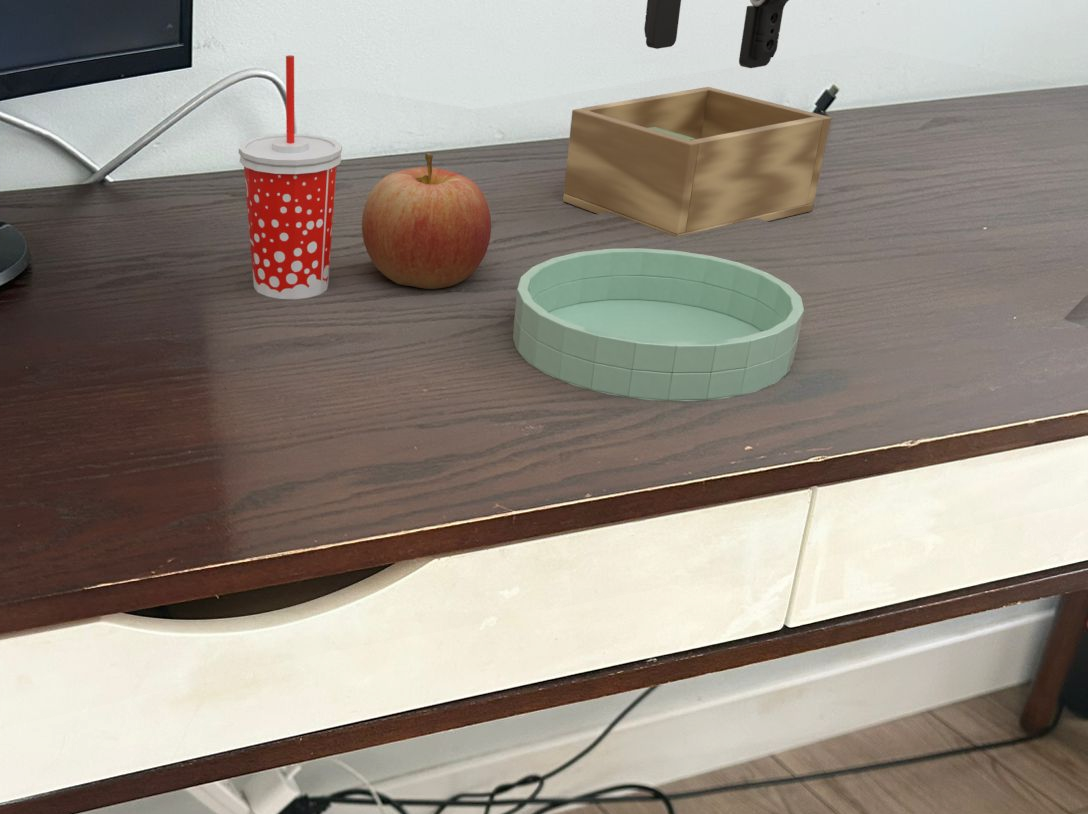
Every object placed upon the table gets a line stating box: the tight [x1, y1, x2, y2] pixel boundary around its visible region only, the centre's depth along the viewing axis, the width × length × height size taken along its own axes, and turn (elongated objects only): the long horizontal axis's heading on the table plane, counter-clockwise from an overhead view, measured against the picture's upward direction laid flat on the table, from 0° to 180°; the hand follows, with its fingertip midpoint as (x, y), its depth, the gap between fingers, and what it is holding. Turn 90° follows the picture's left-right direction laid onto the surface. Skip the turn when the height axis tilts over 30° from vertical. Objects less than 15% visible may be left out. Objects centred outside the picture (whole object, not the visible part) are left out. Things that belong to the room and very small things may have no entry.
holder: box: [562, 86, 832, 238], centre depth 98 cm, size 14×12×7 cm
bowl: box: [512, 247, 805, 402], centre depth 76 cm, size 15×15×4 cm
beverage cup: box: [238, 54, 343, 300], centre depth 82 cm, size 6×6×14 cm
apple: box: [361, 152, 492, 290], centre depth 84 cm, size 8×8×8 cm
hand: (705, 56), depth 92 cm, fingers open, 8 cm apart
